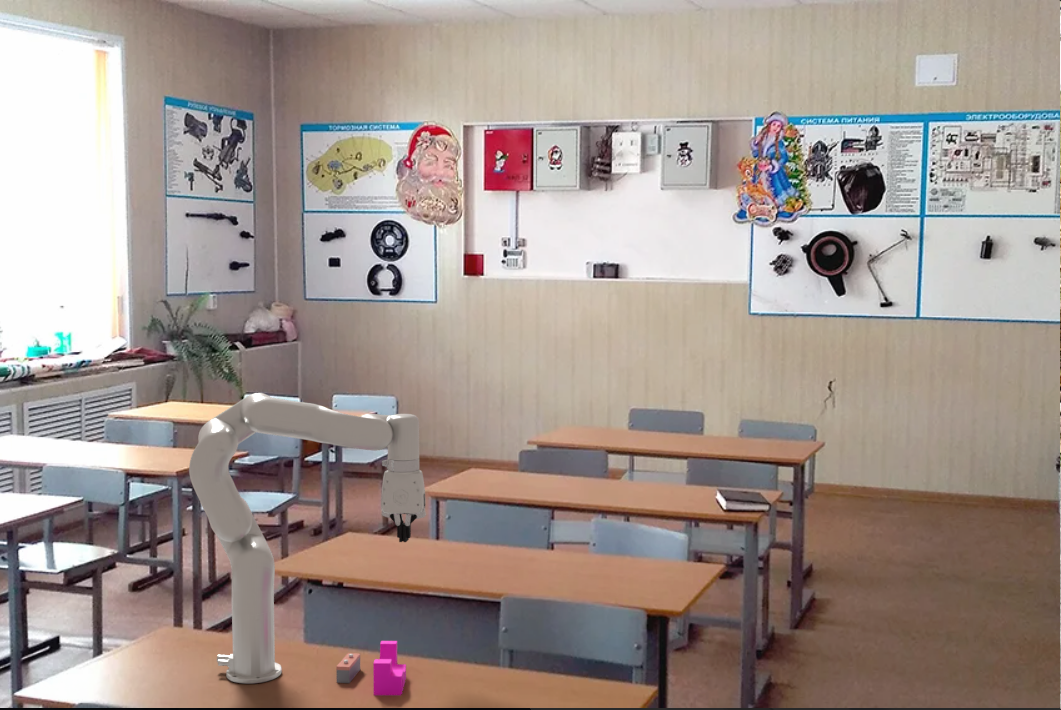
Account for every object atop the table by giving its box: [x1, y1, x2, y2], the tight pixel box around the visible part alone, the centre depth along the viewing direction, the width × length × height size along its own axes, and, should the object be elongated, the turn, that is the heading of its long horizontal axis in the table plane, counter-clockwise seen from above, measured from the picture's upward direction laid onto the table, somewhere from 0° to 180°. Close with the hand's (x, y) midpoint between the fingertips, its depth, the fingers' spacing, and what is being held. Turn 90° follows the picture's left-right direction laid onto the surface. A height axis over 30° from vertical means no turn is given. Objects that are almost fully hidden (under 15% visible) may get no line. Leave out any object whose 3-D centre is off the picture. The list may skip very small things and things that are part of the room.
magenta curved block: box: [372, 640, 407, 696], centre depth 266 cm, size 15×6×8 cm, turn 1°
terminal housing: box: [335, 652, 361, 684], centre depth 270 cm, size 3×9×4 cm, turn 172°
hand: (404, 540), depth 280 cm, fingers closed
